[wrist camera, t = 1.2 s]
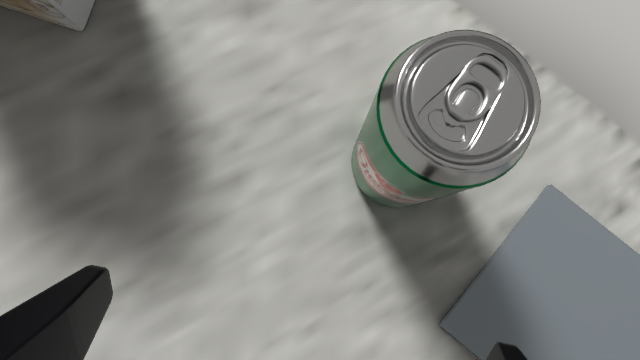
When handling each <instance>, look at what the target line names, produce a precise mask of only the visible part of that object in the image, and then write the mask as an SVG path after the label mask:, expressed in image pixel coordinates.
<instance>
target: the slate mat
mask: <svg viewBox="0 0 640 360" xmlns="http://www.w3.org/2000/svg"><path fill="white" fill-rule="evenodd" d="M439 325H440V326H441V327H442V328H444V329H445V330H446V331H447V332H448V333H450V334H451V335H452V336H453V337H454V338H455V339H457V340H458V341H459V342H460V343H461V344H463V345H464V346H465V347H466V348H467V349H468V350H470V351H471V352H472V353H473V354H474V355H475V356H477V357H478V358H479V359H480V360H486V358H487V356H488V354H489V353H490V351H491V349H492V348H493V346H494V344H495V343H497V342H504V343H510V344H514V345H516V346H517V347H518V348H519V349H520V350H521V351H522V353H523V354H524V355H525V356H526V358H527V359H528V360H640V255H639V254H638V253H637V252H635V251H634V250H633V249H632V248H630V247H629V246H628V245H627V244H625V243H624V242H623V241H622V240H620V239H619V238H618V237H617V236H615V235H614V234H613V233H612V232H610V231H609V230H608V229H607V228H605V227H604V226H603V225H602V224H600V223H599V222H598V221H596V220H595V219H594V218H593V217H591V216H590V215H589V214H588V213H586V212H585V211H584V210H583V209H581V208H580V207H579V206H578V205H576V204H575V203H574V202H573V201H571V200H570V199H569V198H568V197H566V196H565V195H564V194H563V193H561V192H560V191H559V190H558V189H556V188H555V187H554V186H553V185H548V186H547V187H546V188H545V189H544V191H543V192H542V193H541V195H540V196H539V197H538V198H537V200H536V201H535V202H534V203H533V205H532V206H531V207H530V209H529V210H528V211H527V212H526V214H525V215H524V216H523V218H522V219H521V220H520V221H519V223H518V224H517V225H516V226H515V228H514V229H513V230H512V232H511V233H510V234H509V235H508V237H507V238H506V239H505V241H504V242H503V243H502V244H501V246H500V247H499V248H498V249H497V251H496V252H495V253H494V255H493V256H492V257H491V258H490V260H489V261H488V262H487V264H486V265H485V266H484V267H483V269H482V270H481V271H480V273H479V274H478V275H477V276H476V278H475V279H474V280H473V281H472V283H471V284H470V285H469V287H468V288H467V289H466V290H465V292H464V293H463V294H462V296H461V297H460V298H459V299H458V301H457V302H456V303H455V304H454V306H453V307H452V308H451V310H450V311H449V312H448V313H447V315H446V316H445V317H444V319H443V320H442V321H441V322H440V324H439Z"/></svg>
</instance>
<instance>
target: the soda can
mask: <svg viewBox="0 0 640 360" xmlns="http://www.w3.org/2000/svg"><path fill="white" fill-rule="evenodd" d="M540 105H541V100H540V91H539V87H538V83H537V80H536V77H535V75H534V73H533V71H532V69H531V67H530V66H529V64H528V63H527V61H526V60H525V59H524V58H523V56H522V55H521V54H520V53H519V52H518V51H517V50H516V49H515V48H513V47H512V46H511V45H510V44H508V43H507V42H505V41H503V40H502V39H500V38H498V37H495V36H493V35H491V34H488V33H484V32H480V31H474V30H455V31H450V32H445V33H442V34H439V35H436V36H433V37H429V38H427V39H424V40H421V41H419V42H417V43H415V44H414V45H412V46H410V47H409V48H407V49H406V50H405V51H403V52H402V53H401V54H400V55H399V56H398V57H397V58H396V59H395V60H394V61H393V62H392V64H391V65H390V67H389V68H388V70H387V71H386V73H385V75H384V77H383V79H382V82H381V84H380V86H379V89H378V91H377V93H376V96H375V98H374V100H373V103H372V105H371V108H370V110H369V112H368V115H367V117H366V119H365V122H364V124H363V127H362V129H361V131H360V134H359V136H358V139H357V141H356V143H355V146H354V149H353V152H352V160H351V163H352V171H353V175H354V178H355V180H356V182H357V184H358V186H359V188H360V189H361V190H362V191H363V192H364V194H366V195H367V196H368V197H369V198H370V199H372V200H373V201H375V202H377V203H379V204H381V205H384V206H388V207H396V208H398V207H407V206H412V205H415V204H419V203H422V202H426V201H429V200H433V199H436V198H440V197H443V196H447V195H450V194H454V193H457V192H461V191H464V190H468V189H471V188H475V187H479V186H482V185H485V184H487V183H490V182H492V181H494V180H496V179H498V178H499V177H501V176H503V175H504V174H506V173H507V172H508V171H509V170H510V169H512V168H513V167H514V166H515V165H516V163H517V162H518V161H519V160H520V159H521V158H522V156H523V154H524V153H525V151H526V149H527V148H528V146H529V143H530V141H531V138H532V136H533V134H534V132H535V129H536V127H537V124H538V120H539V116H540Z"/></svg>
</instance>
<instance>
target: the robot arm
mask: <svg viewBox="0 0 640 360" xmlns="http://www.w3.org/2000/svg"><path fill="white" fill-rule="evenodd" d="M112 296H113V290H112V285H111V279H110V274H109V270H108V269H107V268H105V267H100V266H94V265H89V266H86V267H84V268H83V269H81V270H79V271H77V272H76V273H74V274H72V275H71V276H69V277H67V278H65V279H64V280H62V281H60V282H58V283H57V284H55V285H53V286H51V287H50V288H48V289H46V290H45V291H43V292H41V293H39V294H38V295H36V296H34V297H32V298H31V299H29V300H27V301H25V302H24V303H22V304H20V305H19V306H17V307H15V308H13V309H12V310H10V311H8V312H6V313H5V314H3V315H1V316H0V360H83V359H84V357H85V355H86V353H87V351H88V349H89V347H90V345H91V343H92V341H93V339H94V337H95V334H96V332H97V330H98V328H99V326H100V324H101V322H102V320H103V317H104V315H105V313H106V311H107V309H108V307H109V305H110V303H111V300H112ZM486 360H528V359H527V358H526V356H525V355H524V354H523V353H522V351H521V350H520V349H519V348H518V347H517V346H516V345H514V344H510V343H504V342H497V343H495V344H494V346H493V348H492V349H491V351H490V353H489V354H488V356H487V358H486Z"/></svg>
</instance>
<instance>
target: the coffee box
mask: <svg viewBox="0 0 640 360" xmlns="http://www.w3.org/2000/svg"><path fill="white" fill-rule="evenodd" d="M94 2H95V0H0V6H2V7H5V8H8V9H11V10H15V11H18V12H21V13H24V14H27V15H30V16H33V17H36V18H39V19H42V20H46V21H49V22H52V23H55V24H58V25H61V26H64V27H67V28H70V29H74V30H77V31H82V30H83V29H84V27H85V25H86V23H87V20H88V18H89V15H90V12H91V10H92V7H93V5H94Z"/></svg>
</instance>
